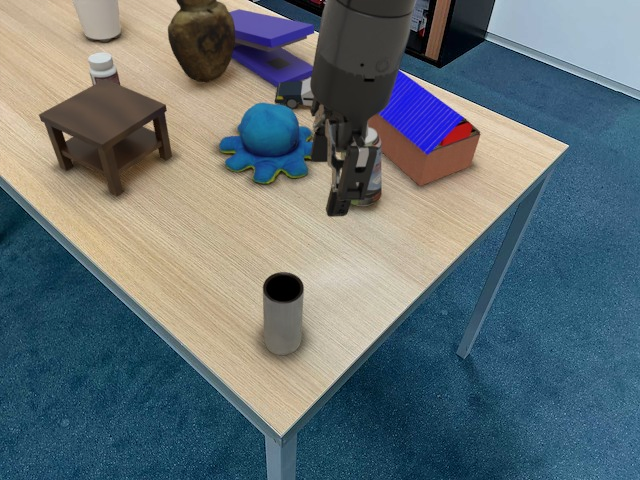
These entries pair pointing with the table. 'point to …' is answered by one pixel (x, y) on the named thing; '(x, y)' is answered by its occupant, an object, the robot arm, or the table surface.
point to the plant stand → (107, 130)
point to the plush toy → (269, 143)
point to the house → (423, 133)
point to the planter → (283, 312)
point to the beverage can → (376, 176)
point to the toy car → (294, 93)
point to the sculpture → (202, 38)
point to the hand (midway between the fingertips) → (327, 186)
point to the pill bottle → (102, 68)
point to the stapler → (270, 46)
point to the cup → (99, 18)
